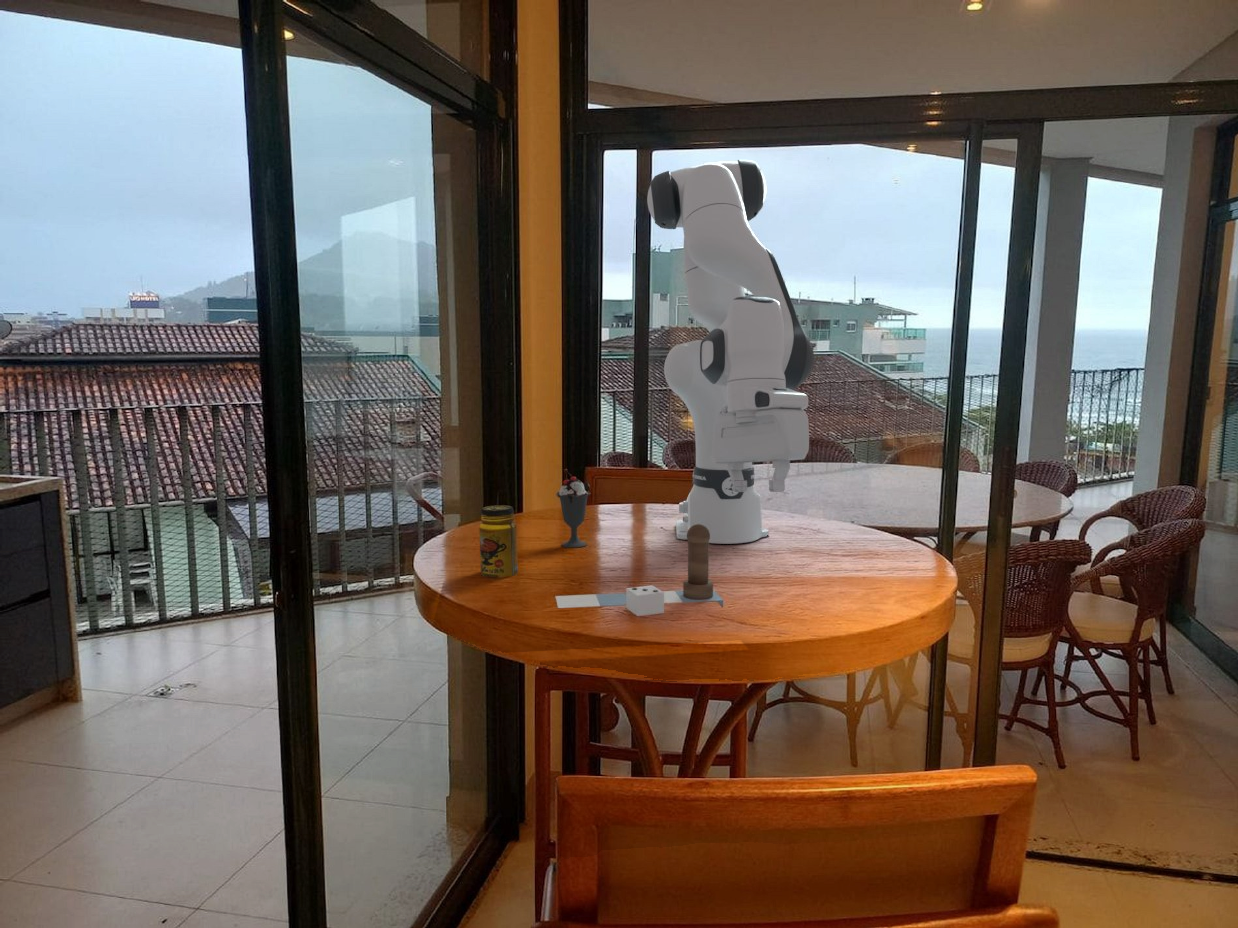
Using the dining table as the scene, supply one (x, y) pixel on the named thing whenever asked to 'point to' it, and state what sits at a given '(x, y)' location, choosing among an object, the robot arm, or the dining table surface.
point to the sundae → (573, 507)
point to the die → (645, 600)
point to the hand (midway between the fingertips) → (757, 492)
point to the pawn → (698, 564)
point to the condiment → (498, 542)
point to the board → (622, 599)
